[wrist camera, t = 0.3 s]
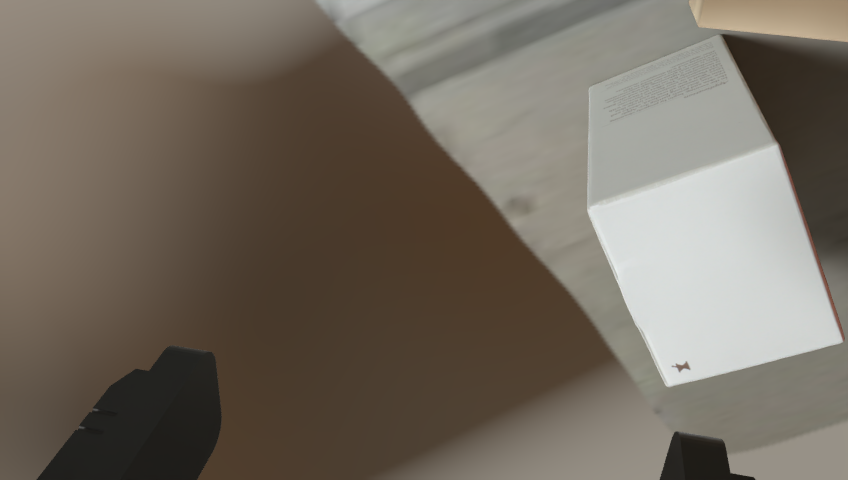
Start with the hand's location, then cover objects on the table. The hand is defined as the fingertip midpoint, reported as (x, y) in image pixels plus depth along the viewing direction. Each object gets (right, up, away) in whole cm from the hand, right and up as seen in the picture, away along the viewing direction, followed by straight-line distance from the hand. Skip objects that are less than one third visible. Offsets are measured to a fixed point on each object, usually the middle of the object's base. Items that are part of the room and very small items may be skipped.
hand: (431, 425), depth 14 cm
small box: (+12, +8, +24) cm, 28 cm away
